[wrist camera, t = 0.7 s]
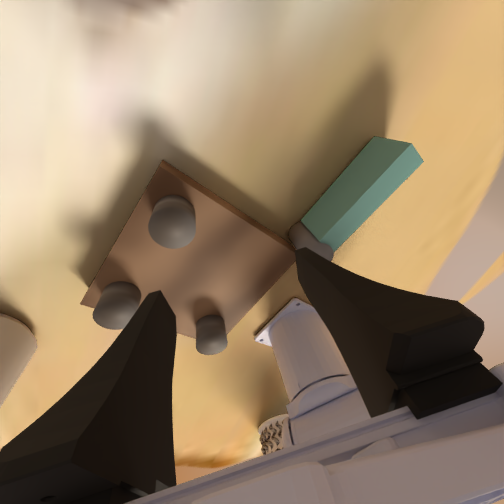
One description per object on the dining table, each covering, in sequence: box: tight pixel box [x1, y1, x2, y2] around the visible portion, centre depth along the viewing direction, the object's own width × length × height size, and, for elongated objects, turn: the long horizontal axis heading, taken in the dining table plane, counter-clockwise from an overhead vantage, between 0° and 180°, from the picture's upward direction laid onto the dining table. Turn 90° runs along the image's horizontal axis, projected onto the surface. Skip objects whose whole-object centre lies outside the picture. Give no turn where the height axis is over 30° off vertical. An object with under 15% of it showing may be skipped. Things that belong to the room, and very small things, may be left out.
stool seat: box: [80, 160, 296, 355], centre depth 21 cm, size 14×14×4 cm
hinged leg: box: [288, 136, 424, 261], centre depth 20 cm, size 11×2×4 cm, turn 141°
